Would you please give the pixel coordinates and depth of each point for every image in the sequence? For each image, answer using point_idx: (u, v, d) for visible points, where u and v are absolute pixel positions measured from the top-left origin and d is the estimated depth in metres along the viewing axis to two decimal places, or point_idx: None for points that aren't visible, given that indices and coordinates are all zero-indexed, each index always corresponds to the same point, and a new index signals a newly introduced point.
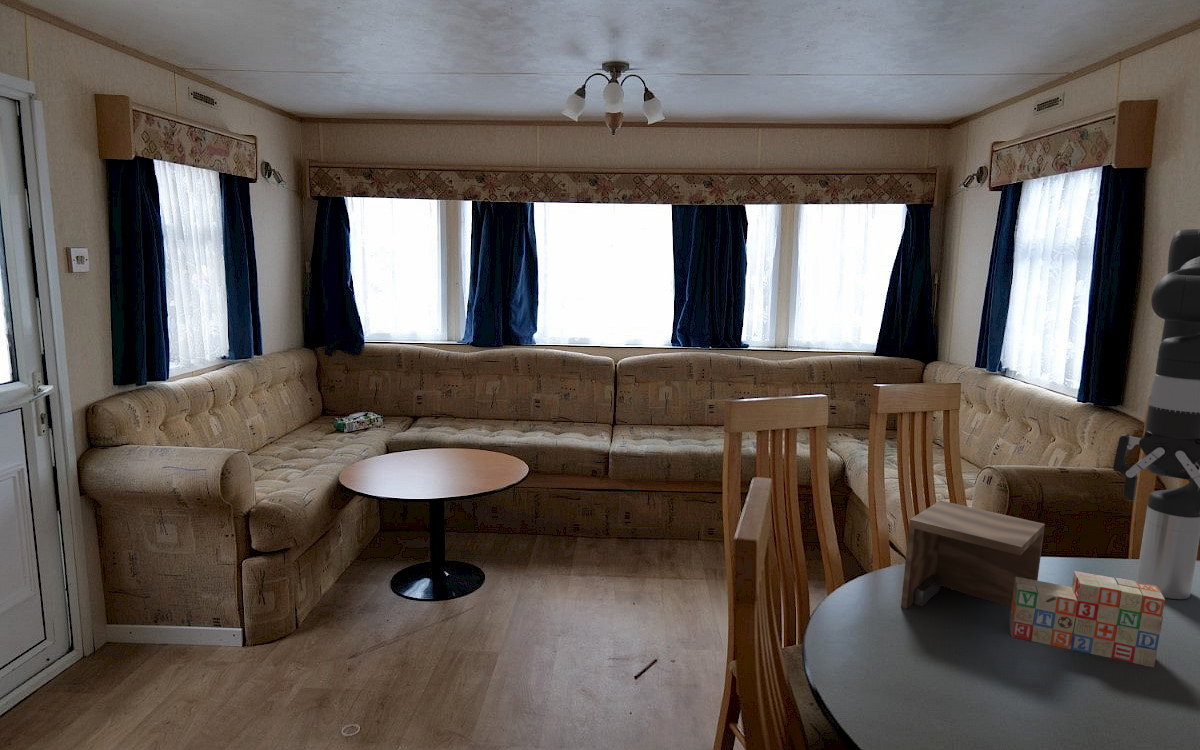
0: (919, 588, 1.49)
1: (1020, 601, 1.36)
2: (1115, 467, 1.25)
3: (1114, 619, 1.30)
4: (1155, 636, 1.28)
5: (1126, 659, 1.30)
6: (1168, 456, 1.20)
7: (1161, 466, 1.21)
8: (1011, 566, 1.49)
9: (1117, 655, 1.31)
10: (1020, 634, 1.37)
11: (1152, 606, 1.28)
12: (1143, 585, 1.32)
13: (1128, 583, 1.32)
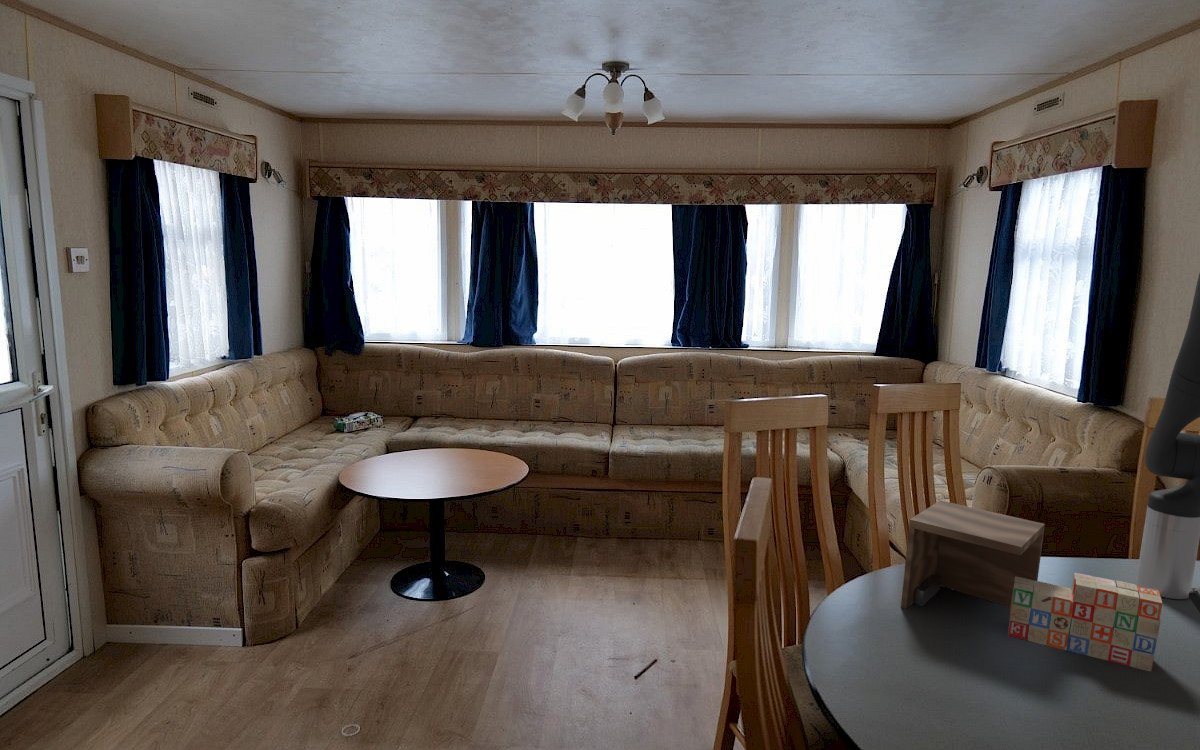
0: (919, 588, 1.49)
1: (1016, 600, 1.36)
2: None
3: (1110, 621, 1.29)
4: (1152, 640, 1.26)
5: (1123, 662, 1.29)
6: None
7: None
8: (1011, 566, 1.49)
9: (1114, 658, 1.30)
10: (1016, 633, 1.37)
11: (1149, 609, 1.26)
12: (1144, 589, 1.31)
13: (1128, 586, 1.31)
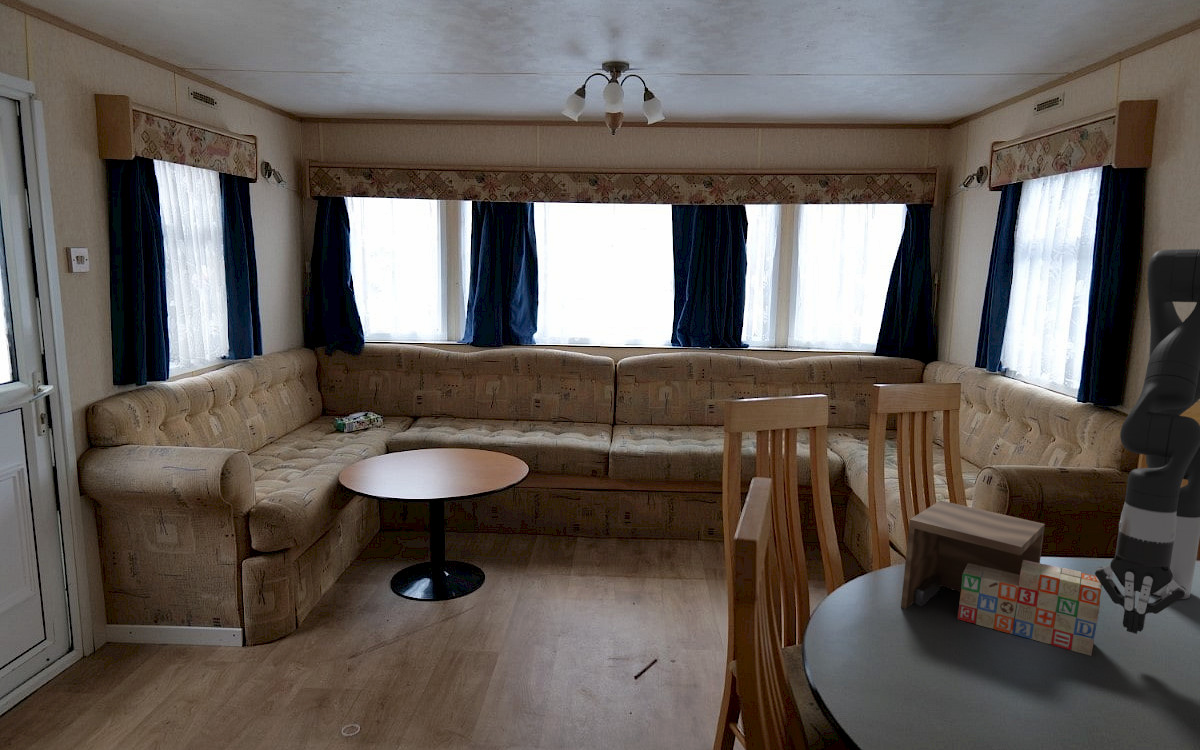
0: (919, 588, 1.49)
1: (965, 585, 1.41)
2: (1114, 599, 1.30)
3: (1053, 606, 1.34)
4: (1092, 625, 1.31)
5: (1065, 646, 1.33)
6: (1137, 580, 1.28)
7: None
8: (1011, 566, 1.49)
9: (1056, 642, 1.34)
10: (965, 617, 1.42)
11: (1089, 594, 1.31)
12: (1088, 576, 1.35)
13: (1072, 573, 1.35)
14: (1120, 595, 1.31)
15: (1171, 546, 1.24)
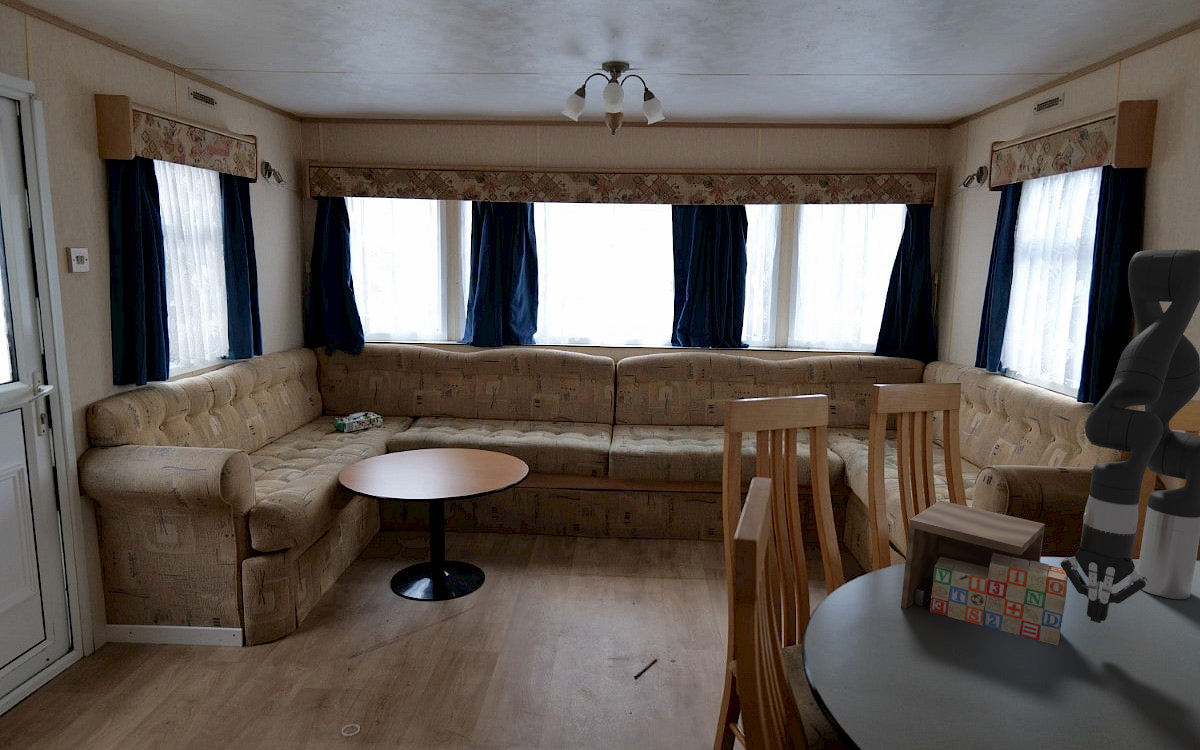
0: (919, 588, 1.49)
1: (937, 578, 1.45)
2: (1079, 589, 1.34)
3: (1021, 598, 1.37)
4: (1059, 616, 1.34)
5: (1033, 637, 1.37)
6: (1100, 570, 1.31)
7: None
8: None
9: (1024, 633, 1.37)
10: (937, 609, 1.45)
11: (1055, 586, 1.34)
12: (1055, 568, 1.38)
13: (1040, 565, 1.39)
14: (1084, 585, 1.34)
15: (1133, 538, 1.28)
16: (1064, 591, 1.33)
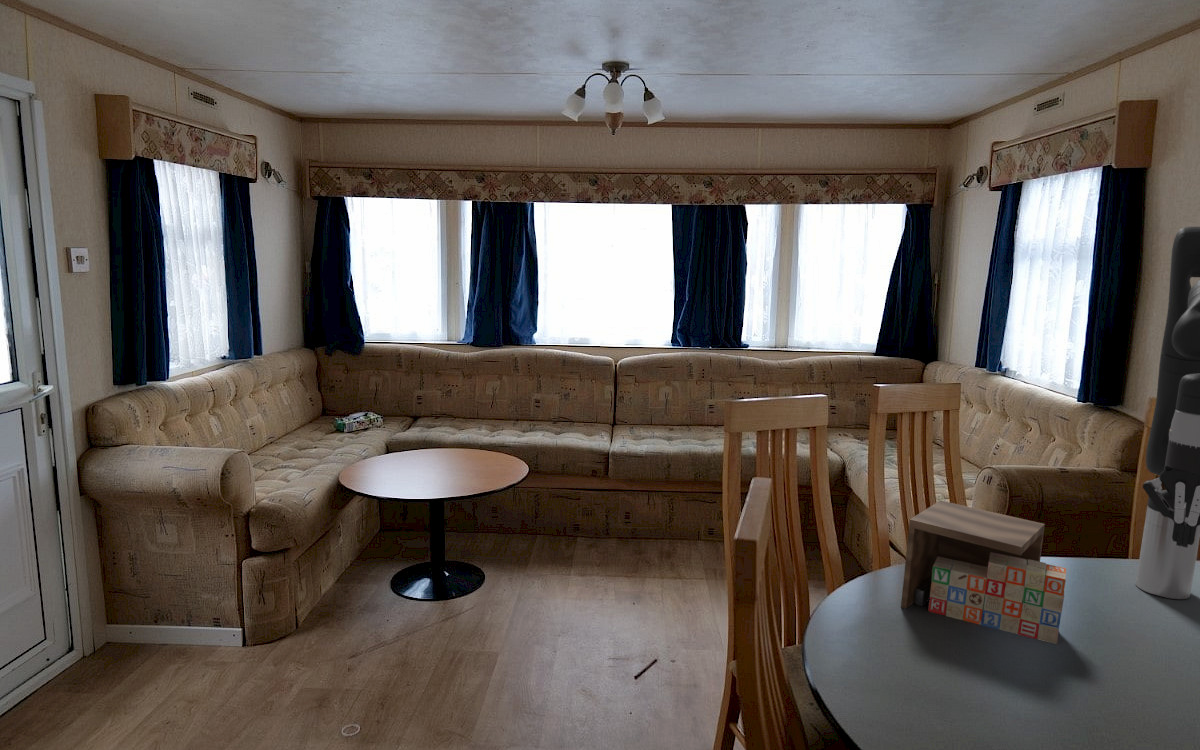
0: (919, 588, 1.49)
1: (935, 578, 1.45)
2: (1163, 512, 1.25)
3: (1019, 597, 1.38)
4: (1057, 614, 1.35)
5: (1031, 635, 1.37)
6: (1188, 490, 1.22)
7: None
8: None
9: (1023, 631, 1.38)
10: (936, 609, 1.45)
11: (1054, 585, 1.35)
12: (1052, 567, 1.39)
13: (1037, 564, 1.39)
14: (1169, 508, 1.25)
15: None
16: (1062, 590, 1.34)
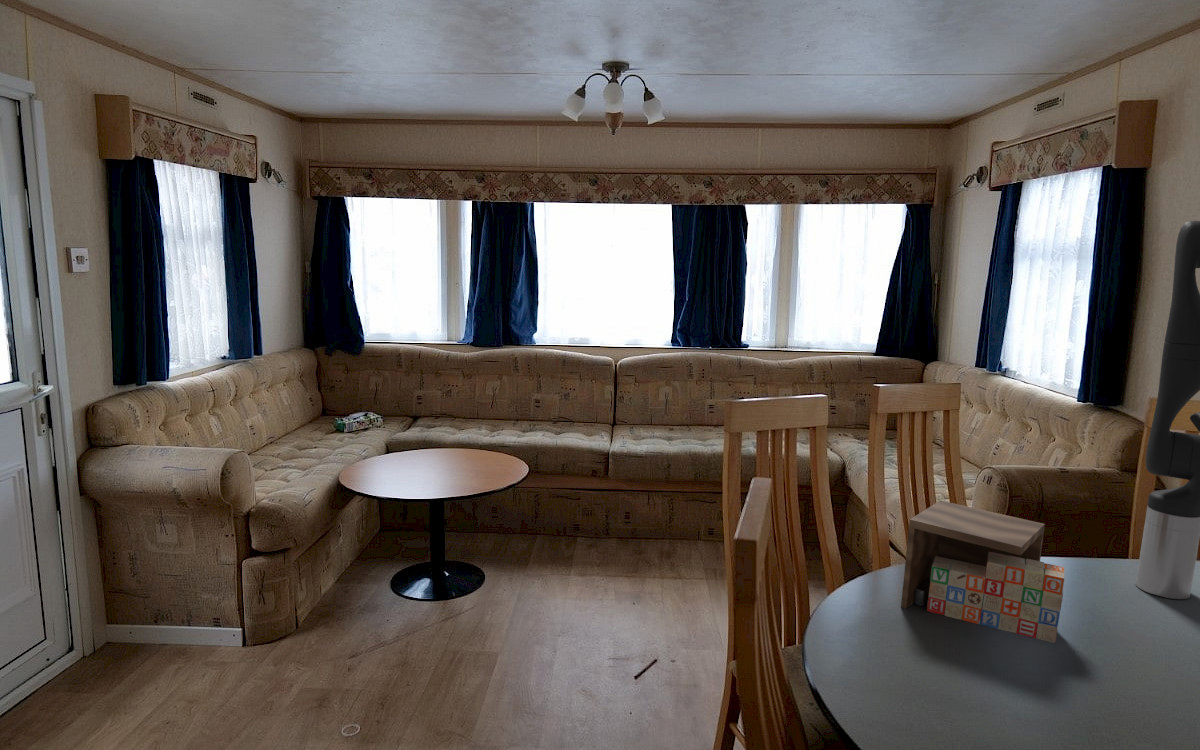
0: (919, 588, 1.49)
1: (934, 577, 1.45)
2: None
3: (1018, 596, 1.38)
4: (1056, 613, 1.35)
5: (1030, 635, 1.38)
6: None
7: None
8: None
9: (1022, 631, 1.38)
10: (934, 609, 1.45)
11: (1052, 584, 1.35)
12: (1051, 566, 1.39)
13: (1035, 563, 1.40)
14: None
15: None
16: (1061, 589, 1.34)
